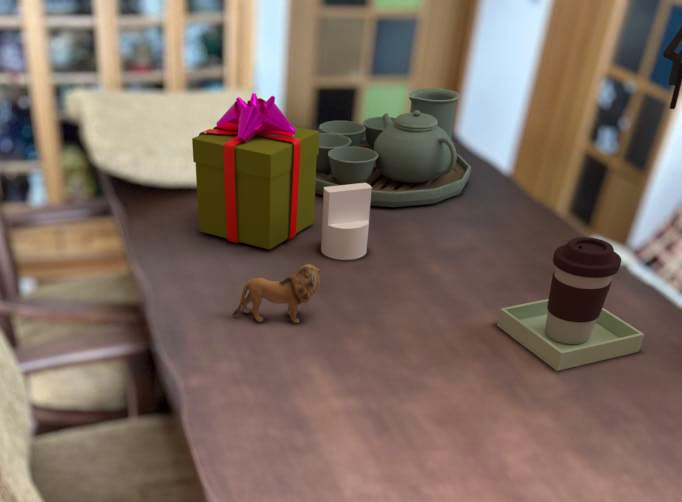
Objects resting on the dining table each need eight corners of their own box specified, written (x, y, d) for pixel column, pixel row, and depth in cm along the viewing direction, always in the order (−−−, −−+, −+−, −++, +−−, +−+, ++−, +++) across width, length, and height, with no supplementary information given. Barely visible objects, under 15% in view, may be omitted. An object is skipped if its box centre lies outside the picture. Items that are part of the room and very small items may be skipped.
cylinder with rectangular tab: (356, 239, 166) (360, 177, 158) (373, 256, 159) (379, 193, 152) (314, 244, 164) (316, 182, 156) (330, 262, 157) (334, 198, 149)
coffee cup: (610, 339, 134) (638, 248, 124) (570, 355, 130) (595, 263, 120) (563, 315, 140) (586, 228, 130) (523, 330, 136) (543, 241, 126)
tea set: (336, 144, 213) (340, 73, 202) (487, 168, 200) (500, 93, 189) (267, 191, 186) (268, 111, 175) (437, 222, 173) (449, 138, 162)
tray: (638, 351, 132) (644, 334, 130) (556, 371, 128) (561, 353, 125) (574, 309, 143) (579, 292, 141) (496, 325, 139) (500, 308, 137)
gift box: (230, 206, 179) (226, 77, 162) (320, 220, 173) (326, 88, 157) (188, 240, 165) (180, 103, 148) (286, 256, 159) (288, 115, 142)
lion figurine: (316, 309, 142) (318, 258, 136) (319, 323, 139) (322, 272, 133) (231, 311, 142) (230, 260, 136) (232, 325, 138) (231, 273, 132)
